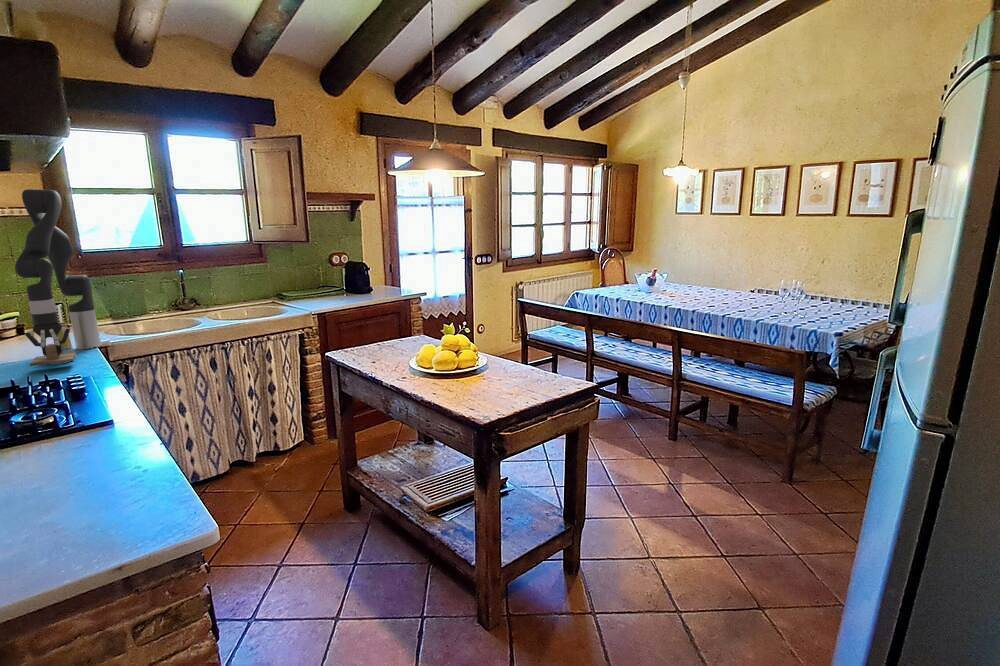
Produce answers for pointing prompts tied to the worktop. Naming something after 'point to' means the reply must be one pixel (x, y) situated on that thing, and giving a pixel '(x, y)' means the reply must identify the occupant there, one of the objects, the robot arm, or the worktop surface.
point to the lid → (52, 356)
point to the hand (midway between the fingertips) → (53, 355)
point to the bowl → (65, 350)
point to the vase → (60, 335)
